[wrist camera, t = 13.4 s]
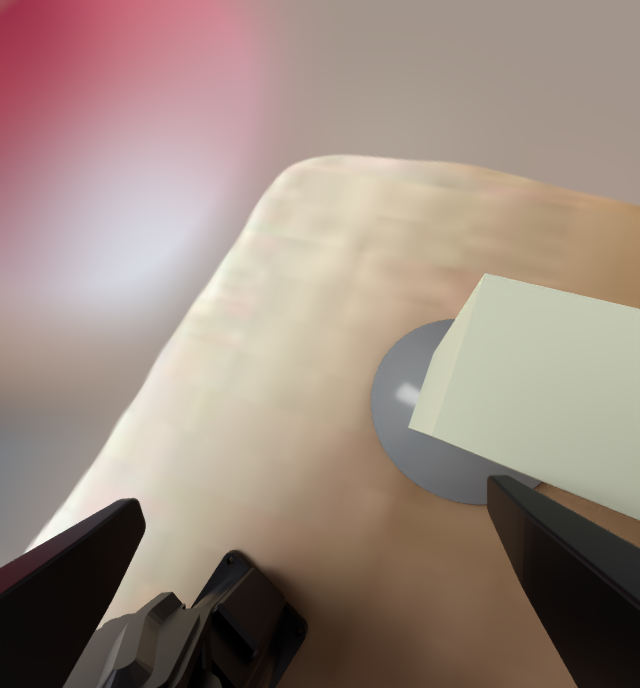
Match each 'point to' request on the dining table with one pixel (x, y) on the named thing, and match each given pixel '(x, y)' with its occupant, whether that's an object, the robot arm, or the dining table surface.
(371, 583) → the dining table surface
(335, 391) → the dining table surface
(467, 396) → the block
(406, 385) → the slate coaster
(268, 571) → the dining table surface
